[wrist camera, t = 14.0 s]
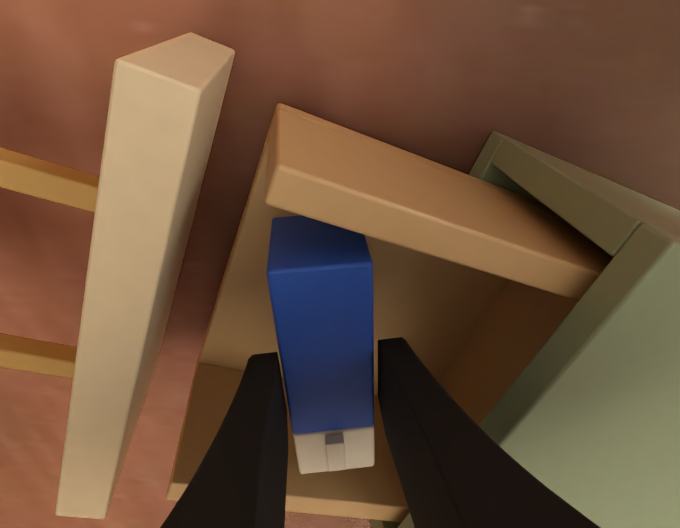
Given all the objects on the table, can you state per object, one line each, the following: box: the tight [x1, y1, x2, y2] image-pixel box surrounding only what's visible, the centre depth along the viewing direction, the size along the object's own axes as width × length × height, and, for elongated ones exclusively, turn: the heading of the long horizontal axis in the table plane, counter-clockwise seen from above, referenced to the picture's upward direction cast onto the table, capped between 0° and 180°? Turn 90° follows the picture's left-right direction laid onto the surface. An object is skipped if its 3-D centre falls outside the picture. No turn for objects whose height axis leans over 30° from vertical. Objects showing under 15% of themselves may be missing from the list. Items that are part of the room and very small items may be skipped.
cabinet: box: [369, 131, 680, 528], centre depth 16 cm, size 14×13×8 cm
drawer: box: [0, 32, 614, 522], centre depth 12 cm, size 18×12×6 cm, turn 68°
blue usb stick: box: [266, 215, 375, 474], centre depth 11 cm, size 7×2×3 cm, turn 3°
